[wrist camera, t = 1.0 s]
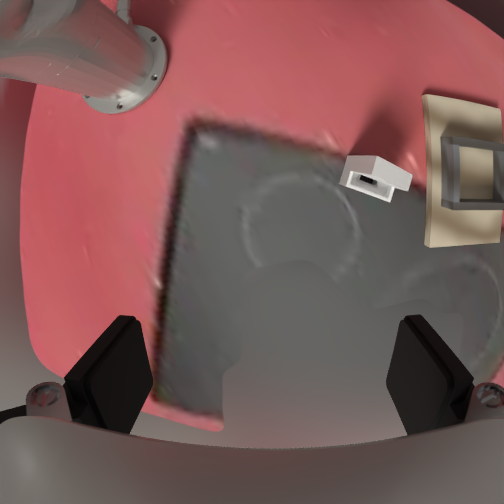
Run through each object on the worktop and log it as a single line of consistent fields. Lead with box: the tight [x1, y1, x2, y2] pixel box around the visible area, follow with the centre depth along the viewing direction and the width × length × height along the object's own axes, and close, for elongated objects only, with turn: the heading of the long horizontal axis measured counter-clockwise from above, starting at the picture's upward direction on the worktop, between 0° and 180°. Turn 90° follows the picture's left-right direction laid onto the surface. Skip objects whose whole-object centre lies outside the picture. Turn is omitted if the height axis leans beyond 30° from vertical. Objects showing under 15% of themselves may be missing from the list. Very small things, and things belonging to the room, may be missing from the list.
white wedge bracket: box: [339, 156, 413, 202], centre depth 31 cm, size 4×10×9 cm
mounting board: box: [422, 94, 504, 248], centre depth 32 cm, size 20×14×4 cm
